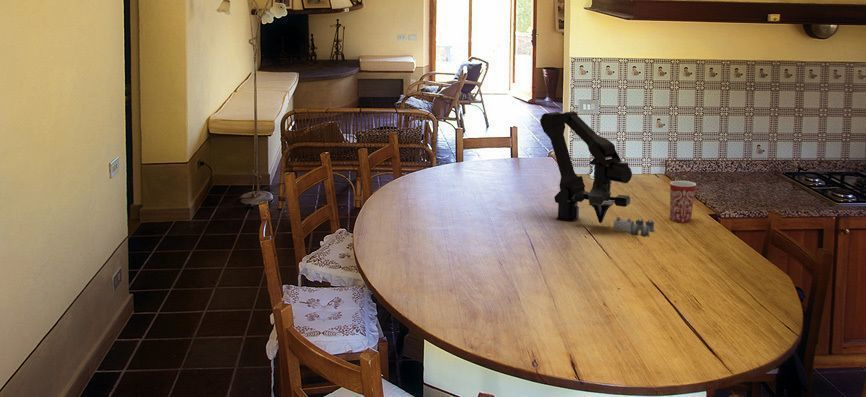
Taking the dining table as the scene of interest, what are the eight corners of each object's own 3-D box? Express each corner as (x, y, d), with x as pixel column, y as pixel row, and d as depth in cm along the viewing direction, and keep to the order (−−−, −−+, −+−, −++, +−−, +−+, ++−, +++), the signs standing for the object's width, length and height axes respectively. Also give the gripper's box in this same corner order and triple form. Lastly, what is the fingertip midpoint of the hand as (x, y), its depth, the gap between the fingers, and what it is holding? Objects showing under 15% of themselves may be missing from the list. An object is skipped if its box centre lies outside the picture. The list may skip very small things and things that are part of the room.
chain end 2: (640, 235, 294) (640, 225, 294) (646, 229, 302) (647, 219, 301) (647, 236, 293) (648, 226, 292) (654, 230, 301) (654, 220, 300)
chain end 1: (629, 234, 296) (630, 224, 295) (636, 227, 304) (637, 218, 303) (637, 235, 295) (637, 225, 294) (643, 228, 303) (644, 219, 302)
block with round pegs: (613, 230, 301) (613, 218, 300) (616, 228, 304) (616, 216, 303) (630, 232, 299) (631, 220, 298) (633, 230, 302) (633, 218, 301)
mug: (696, 223, 310) (698, 186, 306) (670, 223, 310) (672, 185, 307) (688, 214, 322) (691, 178, 319) (663, 214, 322) (665, 178, 319)
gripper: (568, 180, 298) (567, 224, 302) (622, 185, 290) (620, 231, 294) (578, 174, 308) (577, 217, 312) (631, 179, 300) (629, 223, 303)
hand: (600, 222), depth 305 cm, fingers closed
